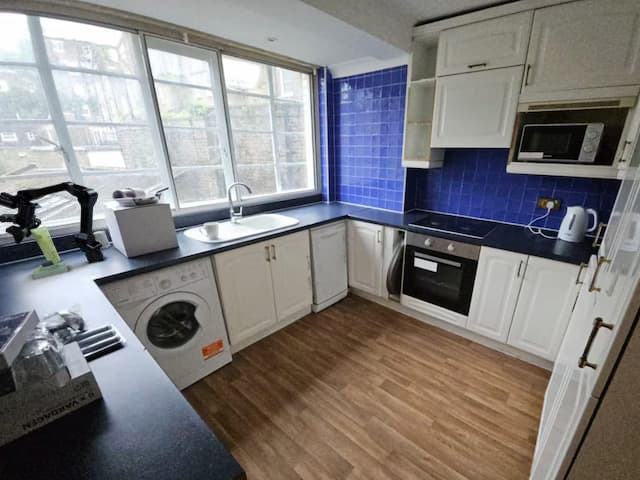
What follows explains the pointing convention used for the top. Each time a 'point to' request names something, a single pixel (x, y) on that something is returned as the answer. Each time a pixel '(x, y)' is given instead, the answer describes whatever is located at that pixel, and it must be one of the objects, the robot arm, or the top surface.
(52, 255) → the tube
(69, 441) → the top surface
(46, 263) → the pump head
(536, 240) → the top surface
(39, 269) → the dispenser
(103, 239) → the cosmetics bottle
